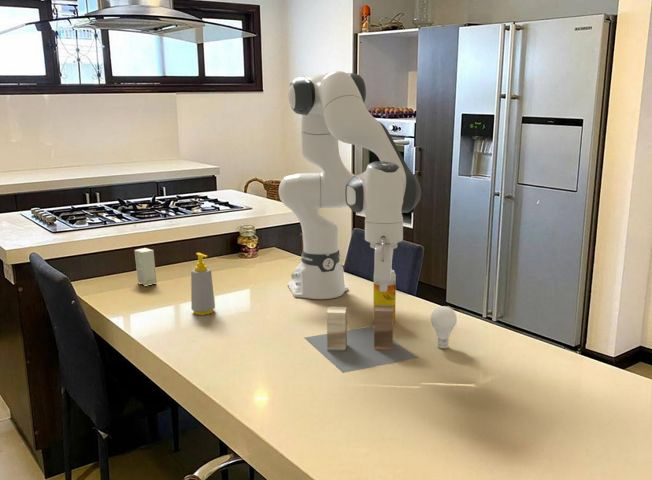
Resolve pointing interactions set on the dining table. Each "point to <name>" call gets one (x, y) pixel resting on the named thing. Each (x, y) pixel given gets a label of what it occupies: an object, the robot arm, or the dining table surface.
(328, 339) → the maple block
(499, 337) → the dining table surface
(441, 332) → the lightbulb
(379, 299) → the beer can
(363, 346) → the rubber mat
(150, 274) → the skincare box
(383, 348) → the walnut block
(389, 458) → the dining table surface
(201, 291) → the soap bottle
